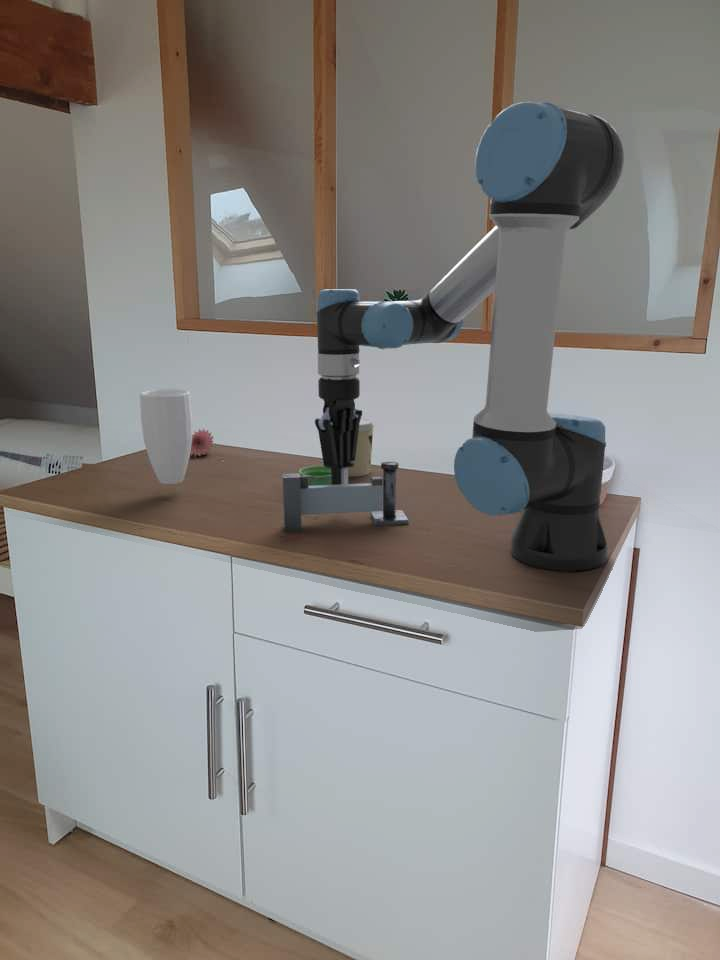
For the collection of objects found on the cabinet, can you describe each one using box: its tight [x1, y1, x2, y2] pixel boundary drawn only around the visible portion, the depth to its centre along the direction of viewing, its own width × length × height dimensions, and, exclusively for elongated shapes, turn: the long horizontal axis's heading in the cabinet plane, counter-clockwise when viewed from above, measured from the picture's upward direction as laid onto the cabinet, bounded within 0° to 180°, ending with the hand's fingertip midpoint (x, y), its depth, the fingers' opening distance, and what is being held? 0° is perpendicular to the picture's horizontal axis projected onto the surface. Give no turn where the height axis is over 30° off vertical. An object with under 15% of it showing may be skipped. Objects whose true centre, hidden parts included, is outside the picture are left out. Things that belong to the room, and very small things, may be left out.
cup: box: [139, 388, 193, 485], centre depth 152 cm, size 10×10×22 cm
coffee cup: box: [348, 417, 375, 477], centre depth 171 cm, size 9×9×12 cm
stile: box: [282, 472, 302, 533], centre depth 133 cm, size 3×3×10 cm
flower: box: [190, 428, 214, 458], centre depth 190 cm, size 8×8×6 cm
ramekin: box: [298, 465, 332, 486], centre depth 158 cm, size 9×9×4 cm
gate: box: [300, 475, 383, 516], centre depth 136 cm, size 16×2×7 cm, turn 98°
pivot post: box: [370, 461, 409, 526], centre depth 137 cm, size 6×6×11 cm
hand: (340, 500), depth 141 cm, fingers closed
